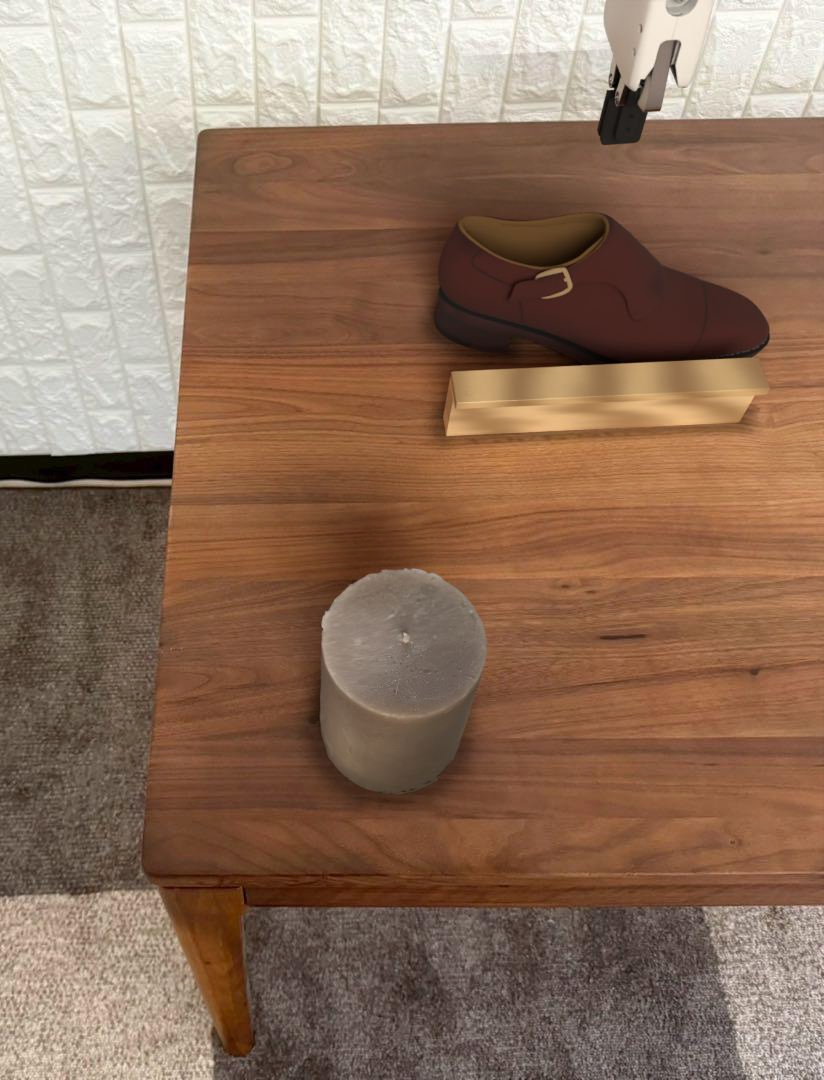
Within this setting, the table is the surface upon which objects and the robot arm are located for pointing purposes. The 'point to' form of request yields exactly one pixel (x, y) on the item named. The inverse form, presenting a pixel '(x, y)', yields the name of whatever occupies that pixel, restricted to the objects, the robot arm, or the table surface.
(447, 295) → the dress shoe
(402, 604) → the pillar candle
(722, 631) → the table surface
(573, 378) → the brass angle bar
